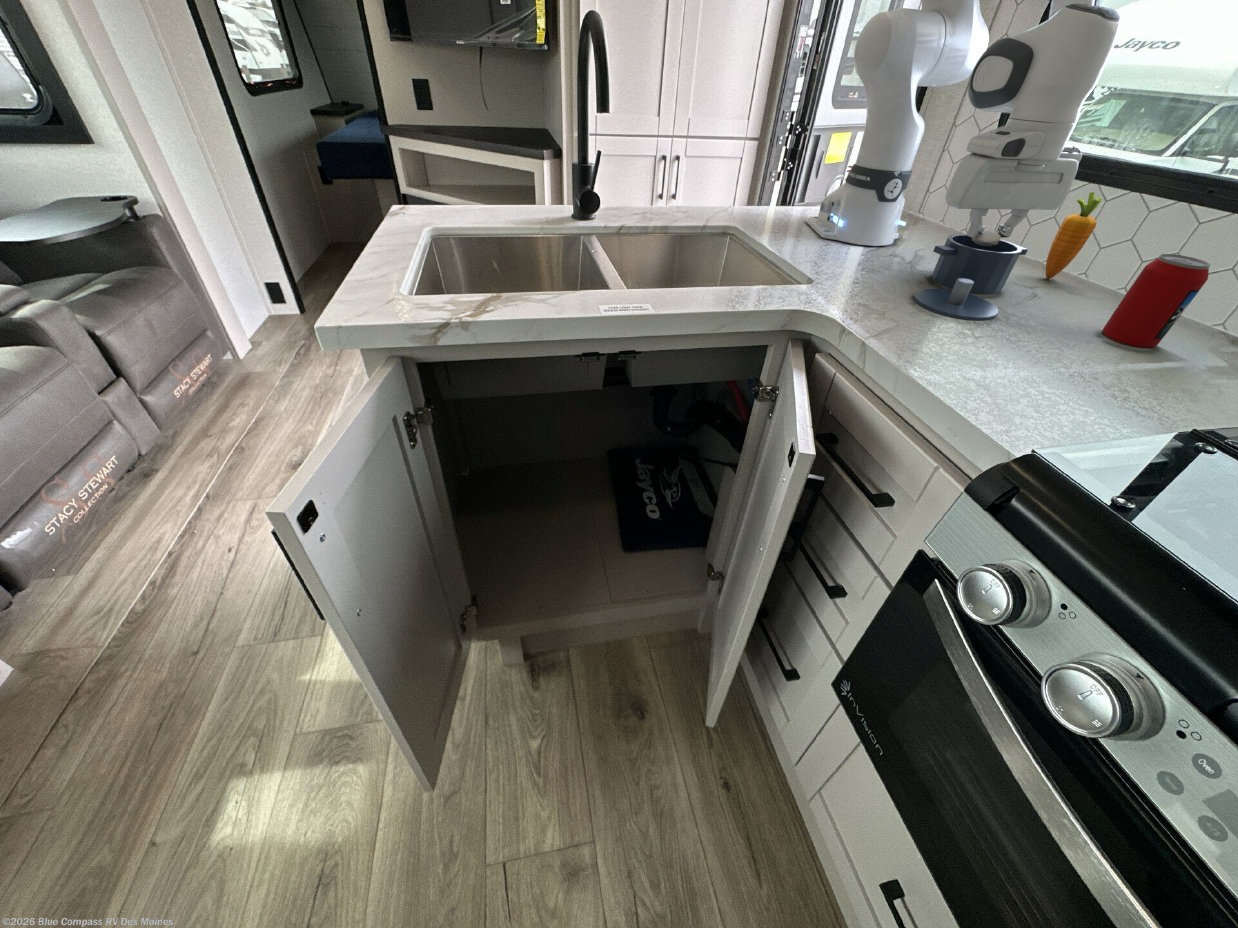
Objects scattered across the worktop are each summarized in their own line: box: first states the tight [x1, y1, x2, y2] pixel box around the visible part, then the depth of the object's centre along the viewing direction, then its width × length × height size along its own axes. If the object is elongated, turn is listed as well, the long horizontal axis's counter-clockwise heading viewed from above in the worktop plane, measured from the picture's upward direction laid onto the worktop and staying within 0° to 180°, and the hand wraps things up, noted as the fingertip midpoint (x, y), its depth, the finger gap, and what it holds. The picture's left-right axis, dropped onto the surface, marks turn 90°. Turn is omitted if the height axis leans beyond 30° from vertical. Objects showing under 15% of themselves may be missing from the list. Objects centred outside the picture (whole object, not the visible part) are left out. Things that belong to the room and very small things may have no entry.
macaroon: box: [972, 229, 1002, 246], centre depth 88 cm, size 4×5×2 cm
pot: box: [930, 233, 1029, 296], centre depth 91 cm, size 11×17×8 cm
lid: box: [913, 278, 999, 321], centre depth 83 cm, size 12×12×5 cm
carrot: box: [1045, 191, 1103, 280], centre depth 95 cm, size 5×5×15 cm
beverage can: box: [1102, 253, 1211, 349], centre depth 73 cm, size 7×7×12 cm
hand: (987, 236), depth 88 cm, fingers closed on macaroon, 4 cm apart
